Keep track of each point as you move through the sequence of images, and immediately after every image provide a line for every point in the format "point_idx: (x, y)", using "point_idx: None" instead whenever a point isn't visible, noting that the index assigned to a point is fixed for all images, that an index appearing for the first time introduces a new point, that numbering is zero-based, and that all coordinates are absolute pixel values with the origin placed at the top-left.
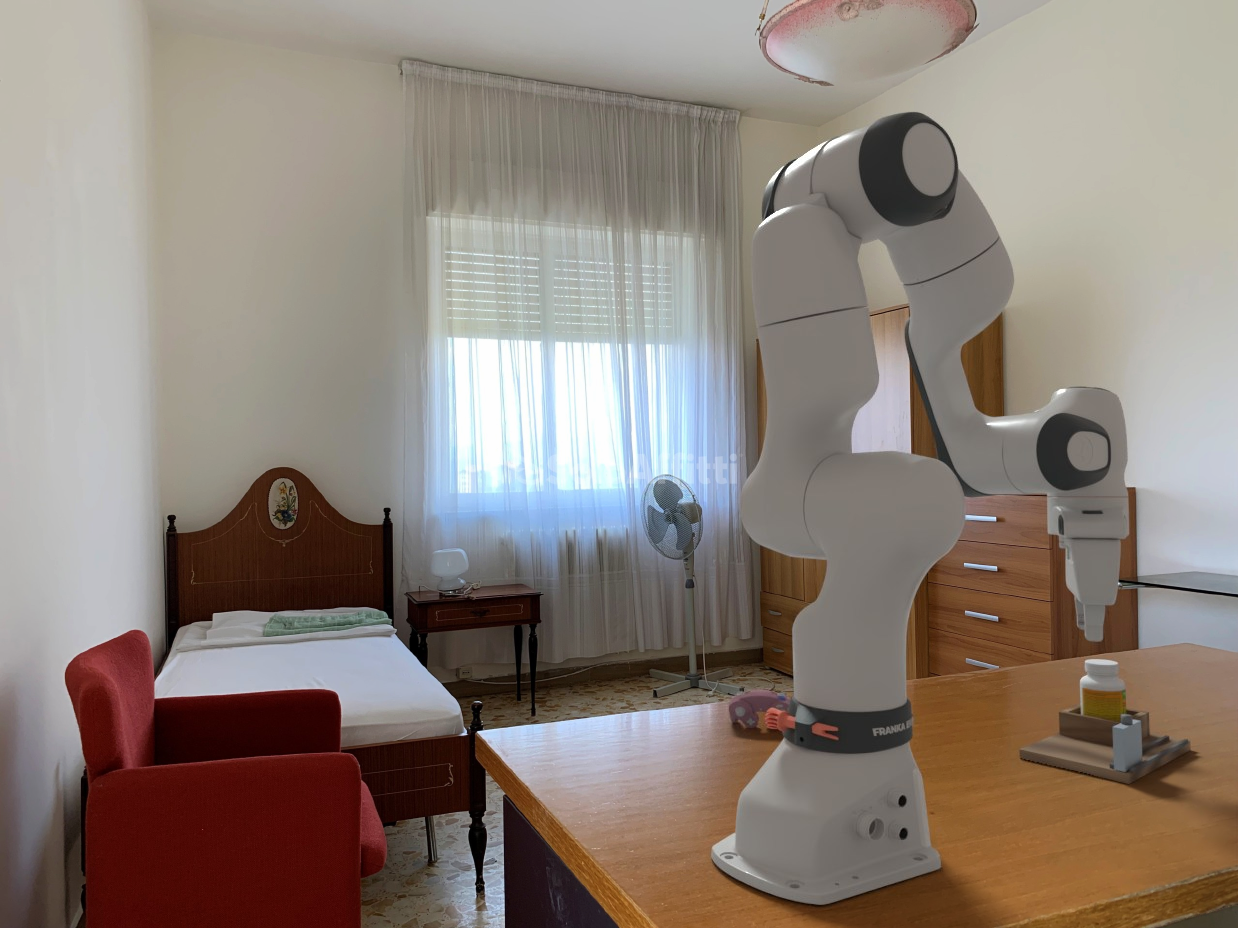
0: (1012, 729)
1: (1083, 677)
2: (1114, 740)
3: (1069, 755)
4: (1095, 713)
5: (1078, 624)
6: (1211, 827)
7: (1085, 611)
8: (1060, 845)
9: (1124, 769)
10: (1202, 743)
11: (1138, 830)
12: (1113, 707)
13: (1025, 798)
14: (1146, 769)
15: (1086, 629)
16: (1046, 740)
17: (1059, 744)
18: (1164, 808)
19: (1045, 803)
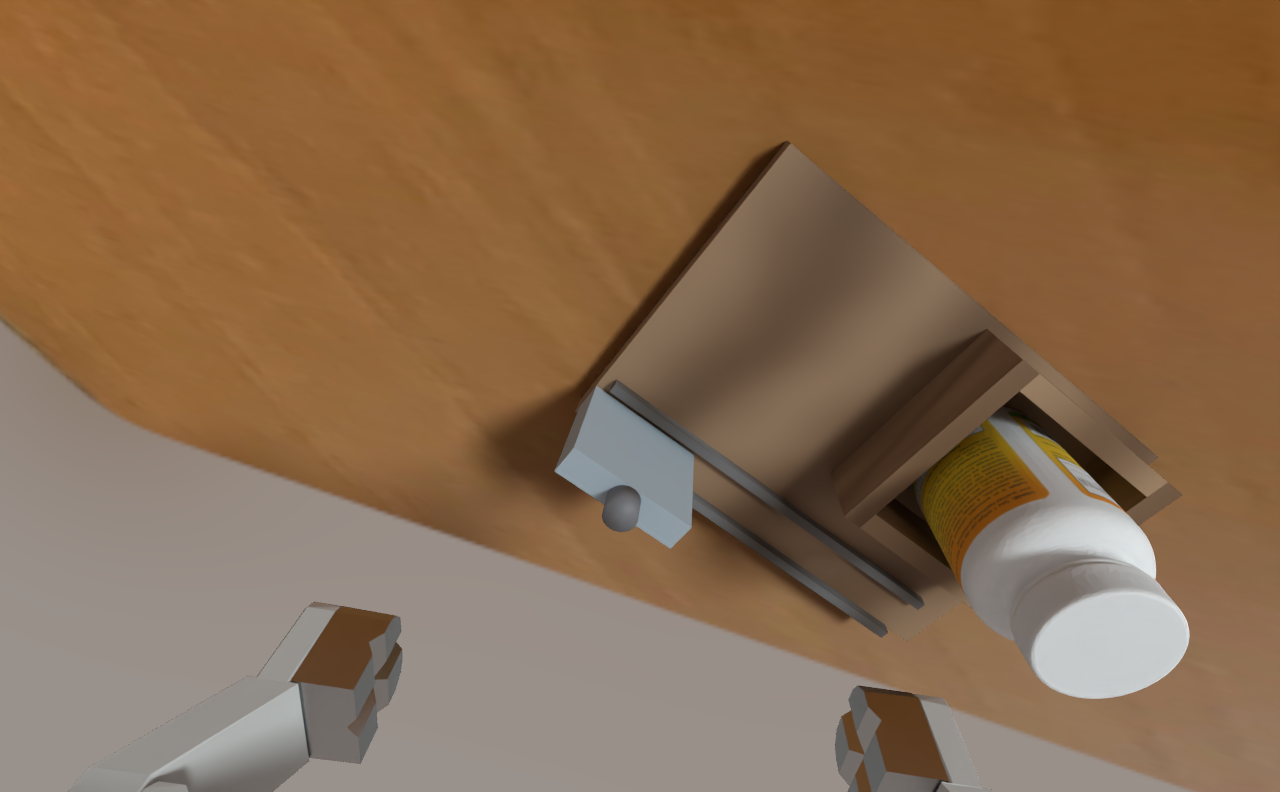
0: (1187, 186)
1: (1098, 531)
2: (578, 428)
3: (728, 299)
4: (952, 471)
5: (869, 707)
6: (326, 468)
7: (85, 774)
8: (51, 106)
9: (579, 408)
10: (959, 664)
11: (243, 320)
12: (940, 536)
13: (373, 79)
14: None
15: (277, 655)
16: (907, 265)
17: (858, 298)
18: (416, 420)
19: (350, 134)
